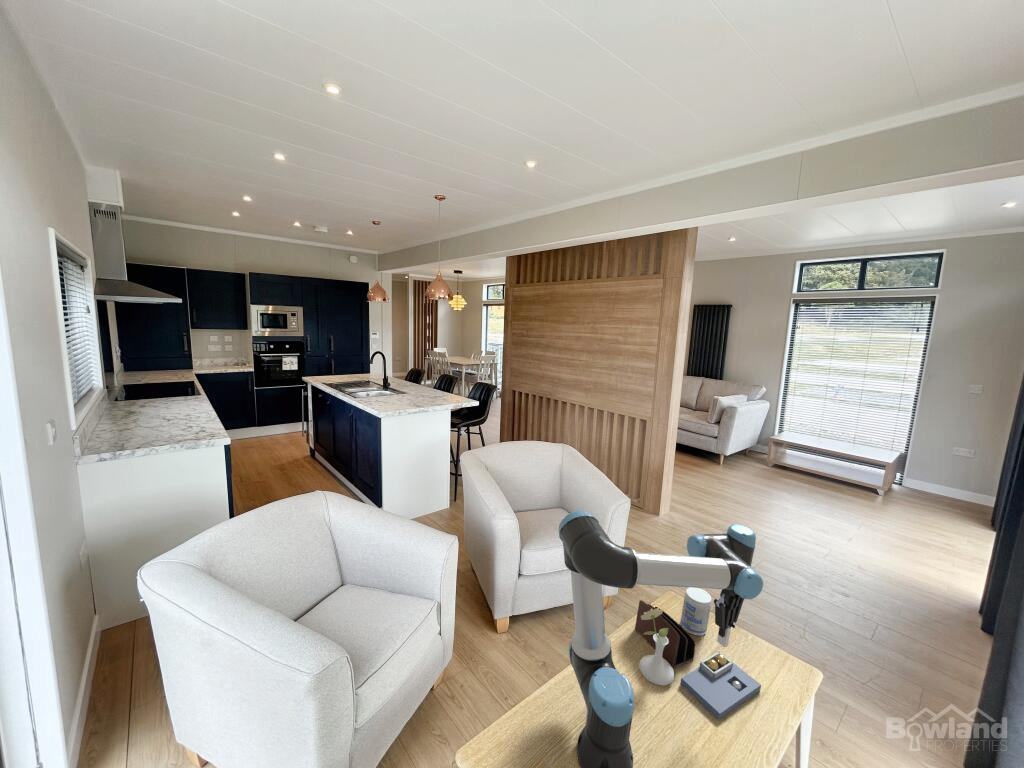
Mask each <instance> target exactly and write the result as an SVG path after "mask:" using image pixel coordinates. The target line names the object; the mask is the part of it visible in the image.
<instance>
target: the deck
mask: <svg viewBox="0 0 1024 768" xmlns="http://www.w3.org/2000/svg"><path fill="white" fill-rule="evenodd" d="M718 654H721V655H723V656H724V657H725V658H726V661H727V663H726V665H725V666H723V667H721V666H719V665H718V670H717V671H715V672H713V671H712V670H711V669H710V668H709V667H707V661H708V660H709V659H713V660H715V657H716V655H718ZM732 681H738V682H739V683H740V684H741V686H742V690H741V691H740V692H739V691H738V690H737V689H735V688H734V687H733V686H732V685H731V683H732ZM679 683H680V685H681V686H682V687H683V688H684V689H685V690H686V691H687V692H688V694H690V695H691V696H692V697H693V698H695V700H697V702H699V704H701V706H703V707H704V708H705V709H706V710H707V711H708V712H709V713H710V714H711V715H712V716H713V717H714V718H715V719H716V720H718V721H720V720H722V719H723V718H724V717H726V716H727V715H729V714H730V713H731V712H733V711H734V710H736V709H737V708H738V707H740V706H742V705H743V704H744V703H745V702H747V701H748V700H750V699H751V698H753V697H754V696H755V695H757V694H758V693H759V692H760V691H761V688H762V684H761V683H760V682H758V681H757V680H756V679H755V678H753V677H752V676H751V675H749V674H748V672H746V671H744V670H743V669H742V668H741V667H740V666H738V665H737V664H735V662H733V661H732V660H731V659H729V658H728V657H727V656H725V654H723V653H721V651H717V652H716V653H714V654H712V655H710V656H708V657H706V658H704V660H701V661H700V662H699V667H697V668H696V669H693V670H692V671H690V672H689V673H686V674H685V675H684V676H681V678H680V682H679Z"/></svg>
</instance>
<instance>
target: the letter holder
mask: <svg viewBox="0 0 1024 768" xmlns="http://www.w3.org/2000/svg"><path fill="white" fill-rule="evenodd" d="M657 608H659V610H660V609H661V608H660V607H658V606H653V605H652V604H650V603H646V602H645V601H643V600H639V602H638V609H637V613H636V619H635V625H634V630H635V631H636V632H637V633H638V634H639V635H640V636H641V637H642V638H643V640H645V641H646V642H647V643H648V644H649V645H650V646H651V648H653V649H654V650H655V651H656V643H655V641H654V639H653V635H654V634H656V633H659V630H660V629H663V628H669V629H668V633H667V635H666V637H667V638H668V640H669V643H668V644H667V645H665V647H664V649H663V653H662V658H663V659H665V660H666V661H667V662H668V663H669V664H670V665H671V667H672V669H673V670H674V669H676V668H679V667H681V666H683V665H685V664H688V663H690V662H693V661H694V659H695V652H696V647H697V646H696V641H695V640H694V638H693V637H692V636H691V634H690V633H689V632H687V631H686V630H685V629H684V628H683V627H682V625H681V624H679V623H678V622H677V621H676V620H675V619H674V618H673V617H671V616H670V615H669V614H668V613H667V612H665V611H664V610H663V612H662V614H661V615H659V616H658V617H656V618H654V621H653V619H649V620H643V619H641V617H640V616H642V615H644V614H643V613H644V612H648V611H650V609H653V610H654V609H657ZM654 622H655V629H656V633H654V634H652V635H647V634H644V633H645V632H648V631H652V632H655V629H654ZM643 634H644V635H643Z"/></svg>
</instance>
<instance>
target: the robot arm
mask: <svg viewBox="0 0 1024 768" xmlns="http://www.w3.org/2000/svg"><path fill="white" fill-rule="evenodd" d="M756 535H757V534H756V533H755V532H754V530H752V529H751V528H750V527H747V526H745V525H742V524H737V523H735V524H731V525H729V526H728V528H727V531H726V532H725V533H724V532H723V533H699V534H692V535H690V536H688V538H687V541H686V550H687V554H688V555H677V554H667V553H653V552H638V551H635V550H634V549H633V548H632V547H628V546H622V545H621V546H620V545H619V544H616V543H615V542H613V541H612V540H611V539H610V537H609V536H608V533H606V531H605V530H604V528H603V527H602V526H601V525H600V523H599V520H598V519H597V518H596V517H595V516H594V515H593V514H592V513H590V512H589V511H585V510H575V511H572V512H569V513H568V514H566V515H565V516H564V518H563V519H561V521H560V522H559V525H558V537H559V539H560V541H561V542H562V547H563V548H562V549H563V558H564V566H565V567H566V568H567V569H568V571H570V576H571V577H570V578H571V580H570V581H571V590H572V591H571V592H572V602H573V604H572V605H573V613H574V615H573V616H574V627H575V629H574V630H575V633H574V634H573V636H572V638H571V640H570V643H569V648H568V654H569V660H570V662H569V663H570V664H571V667H572V669H573V672H574V674H575V677H576V680H577V683H578V687H579V688H580V690H581V691H580V692H581V694H582V697H583V700H584V703H585V705H586V721H585V725H584V727H583V728H582V730H581V732H580V733H579V735H578V738H577V743H576V744H577V745H576V757H577V758H578V759H577V758H576V759H577V762H578V765H579V766H580V768H634V767H633V766H634V754H633V751H632V745H631V742H630V737H631V728H632V723H633V722H632V721H633V714H634V711H635V694H634V690H633V689H634V688H633V686H632V684H631V682H630V681H629V679H628V678H627V677H626V676H625V674H624V673H620V671H619V670H618V669H617V668H616V666H615V664H614V660H613V652H612V642H611V639H610V638H609V635H608V634H606V626H605V625H606V624H605V610H604V595H603V586H608V587H612V588H616V589H617V588H618V589H629V590H630V589H631V590H632V589H634V588H635V587H636V585H642V586H658V587H659V586H660V587H661V586H663V587H678V588H690V587H694V588H700V589H717V590H721V591H720V594H719V596H720V597H719V598H718V599H716V598H714V600H713V603H714V623H715V625H717V627H718V632H717V638H716V639H717V640H716V642H717V643H719V644H720V646H722V647H723V648H727V647H728V645H729V640H730V635H731V631H732V629H734V628H736V625H735V624H736V623H737V622H738V618H739V617H740V616H739V615H740V612H741V610H742V607H743V603H744V601H745V600H752V599H756V598H757V597H758V596H759V595H760V594H761V593H762V591H763V588H764V580H763V578H762V576H761V575H760V574H759V572H757V571H756V570H755V569H754V567H752V562H753V557H754V555H755V554H754V553H755V548H756V542H757V541H756V540H757V539H756V538H757V536H756ZM734 623H735V624H734ZM731 628H732V629H731Z"/></svg>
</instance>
